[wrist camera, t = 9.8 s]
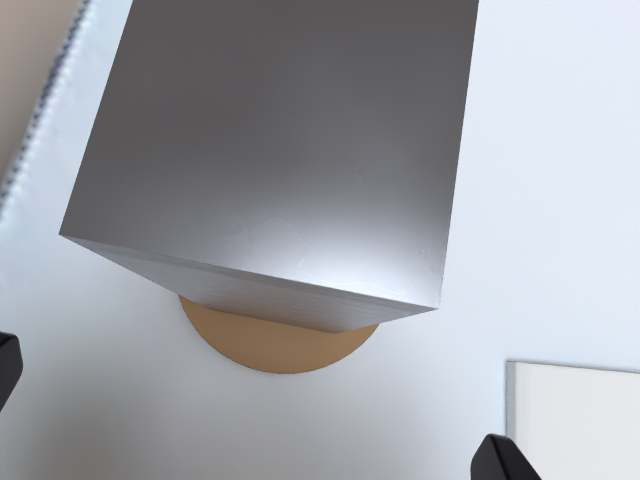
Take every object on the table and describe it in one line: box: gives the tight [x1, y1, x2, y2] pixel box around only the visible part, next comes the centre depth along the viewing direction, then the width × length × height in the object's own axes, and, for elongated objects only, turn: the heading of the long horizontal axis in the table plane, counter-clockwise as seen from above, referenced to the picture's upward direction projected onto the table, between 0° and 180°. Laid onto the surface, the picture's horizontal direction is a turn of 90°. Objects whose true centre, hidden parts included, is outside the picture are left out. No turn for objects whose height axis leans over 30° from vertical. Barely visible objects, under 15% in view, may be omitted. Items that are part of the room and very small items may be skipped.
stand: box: [178, 294, 380, 374], centre depth 21 cm, size 9×9×3 cm
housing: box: [59, 0, 479, 334], centre depth 13 cm, size 5×5×13 cm
